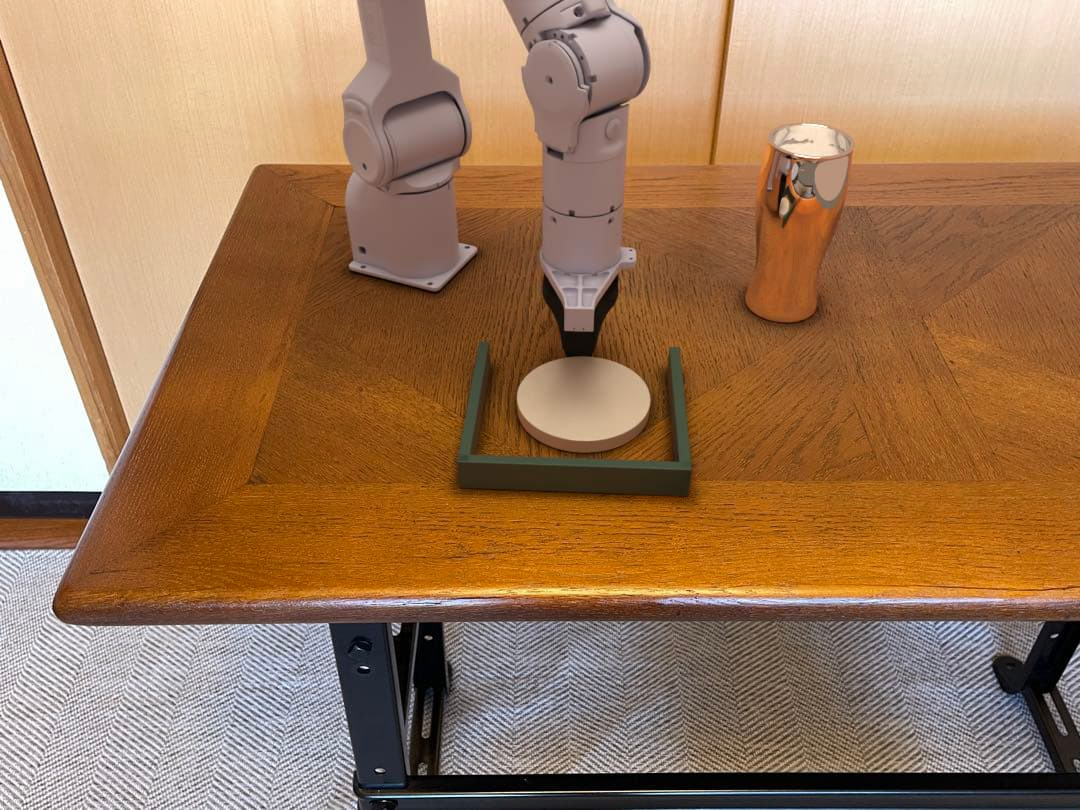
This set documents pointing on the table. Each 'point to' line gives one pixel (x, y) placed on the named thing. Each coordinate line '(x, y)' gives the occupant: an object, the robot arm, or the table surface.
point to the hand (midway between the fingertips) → (578, 354)
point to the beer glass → (797, 216)
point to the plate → (583, 404)
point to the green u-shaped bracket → (575, 470)
